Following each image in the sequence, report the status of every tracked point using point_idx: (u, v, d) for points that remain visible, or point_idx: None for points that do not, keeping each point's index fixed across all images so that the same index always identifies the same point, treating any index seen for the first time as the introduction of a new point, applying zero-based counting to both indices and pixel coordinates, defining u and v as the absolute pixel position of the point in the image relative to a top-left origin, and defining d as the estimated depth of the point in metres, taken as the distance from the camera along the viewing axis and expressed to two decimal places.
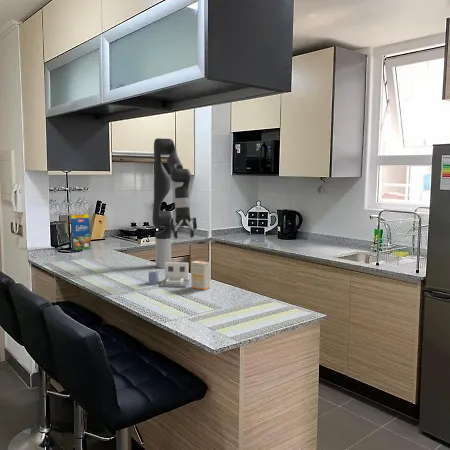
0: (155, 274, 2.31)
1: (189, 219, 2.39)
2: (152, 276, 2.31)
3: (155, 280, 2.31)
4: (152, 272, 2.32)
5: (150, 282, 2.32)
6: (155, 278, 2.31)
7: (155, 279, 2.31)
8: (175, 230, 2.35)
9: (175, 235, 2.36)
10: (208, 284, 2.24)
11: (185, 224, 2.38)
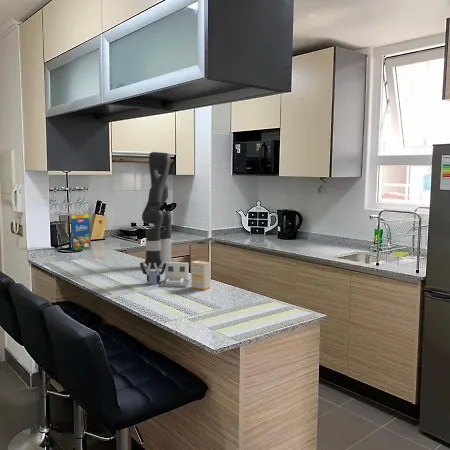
0: (155, 274, 2.31)
1: (159, 262, 2.31)
2: (152, 276, 2.31)
3: (155, 280, 2.31)
4: (152, 272, 2.32)
5: (150, 282, 2.32)
6: (155, 278, 2.31)
7: (155, 279, 2.31)
8: (147, 274, 2.32)
9: (147, 279, 2.33)
10: (208, 284, 2.24)
11: (153, 266, 2.32)
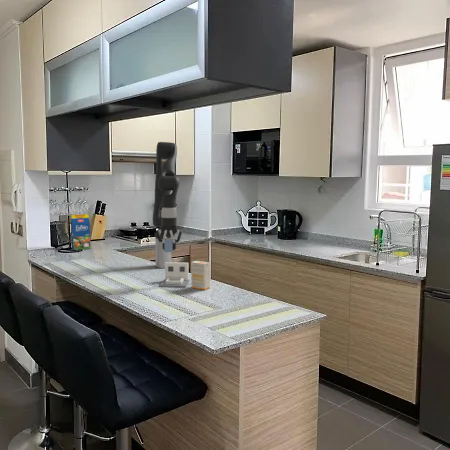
0: (171, 242, 2.28)
1: (174, 230, 2.28)
2: (168, 244, 2.28)
3: (171, 248, 2.29)
4: (168, 240, 2.29)
5: (166, 250, 2.29)
6: (171, 246, 2.28)
7: (171, 247, 2.29)
8: (163, 242, 2.29)
9: (163, 247, 2.30)
10: (208, 284, 2.24)
11: (169, 234, 2.29)
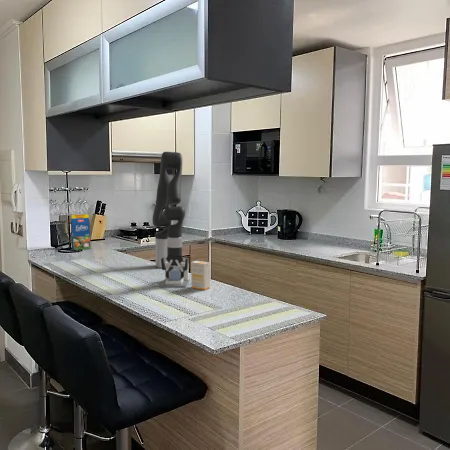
0: (177, 273, 2.30)
1: (180, 259, 2.30)
2: (174, 275, 2.31)
3: (177, 279, 2.31)
4: (174, 271, 2.31)
5: None
6: (177, 277, 2.31)
7: (176, 278, 2.31)
8: (166, 270, 2.31)
9: (166, 275, 2.32)
10: (208, 284, 2.24)
11: (175, 264, 2.31)
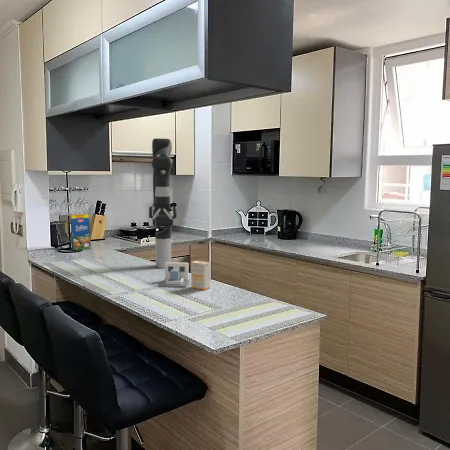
0: (177, 273, 2.30)
1: (168, 208, 2.38)
2: (174, 275, 2.31)
3: (177, 279, 2.31)
4: (174, 271, 2.31)
5: None
6: (177, 277, 2.31)
7: (176, 278, 2.31)
8: (153, 218, 2.39)
9: (153, 223, 2.40)
10: (208, 284, 2.24)
11: (164, 213, 2.38)
